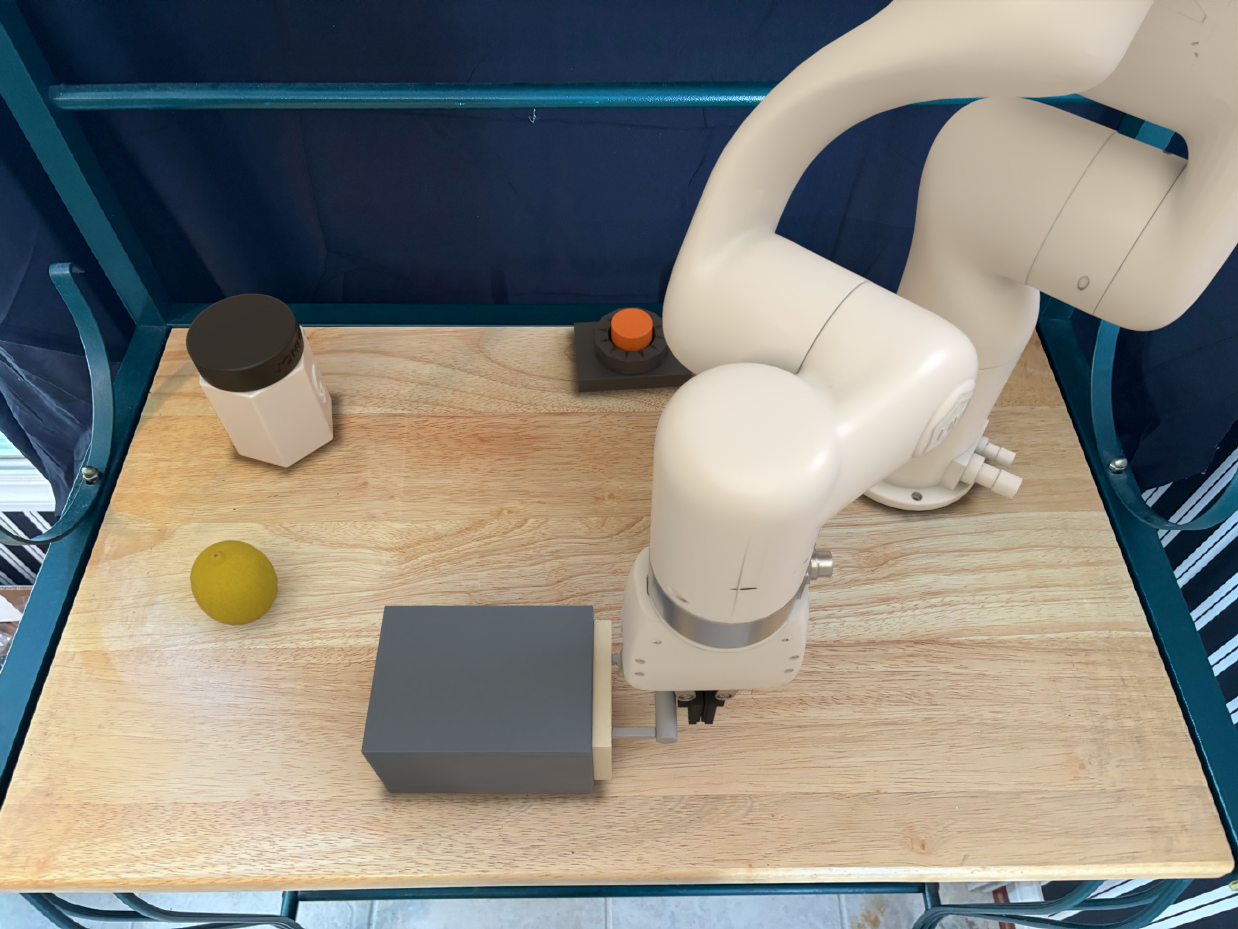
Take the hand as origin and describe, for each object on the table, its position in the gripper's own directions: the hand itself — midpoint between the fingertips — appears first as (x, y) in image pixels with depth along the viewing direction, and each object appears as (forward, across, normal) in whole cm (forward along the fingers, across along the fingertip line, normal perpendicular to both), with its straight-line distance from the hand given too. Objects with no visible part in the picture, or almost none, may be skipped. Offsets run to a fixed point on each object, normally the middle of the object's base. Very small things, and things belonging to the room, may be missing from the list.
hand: (698, 702), depth 60 cm
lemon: (+4, +33, -10) cm, 34 cm away
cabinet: (+4, +14, 0) cm, 14 cm away
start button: (+1, +3, -34) cm, 34 cm away
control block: (+4, +4, -34) cm, 34 cm away
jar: (+4, +33, -27) cm, 43 cm away
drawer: (+3, +10, 0) cm, 10 cm away
